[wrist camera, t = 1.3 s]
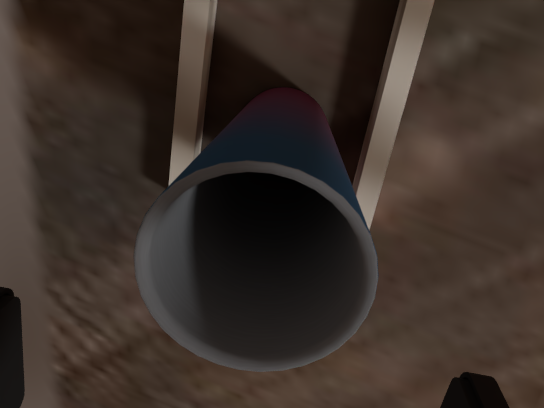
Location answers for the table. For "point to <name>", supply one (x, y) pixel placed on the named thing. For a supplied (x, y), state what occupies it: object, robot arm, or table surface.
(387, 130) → the track
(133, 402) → the table surface
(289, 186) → the cup
